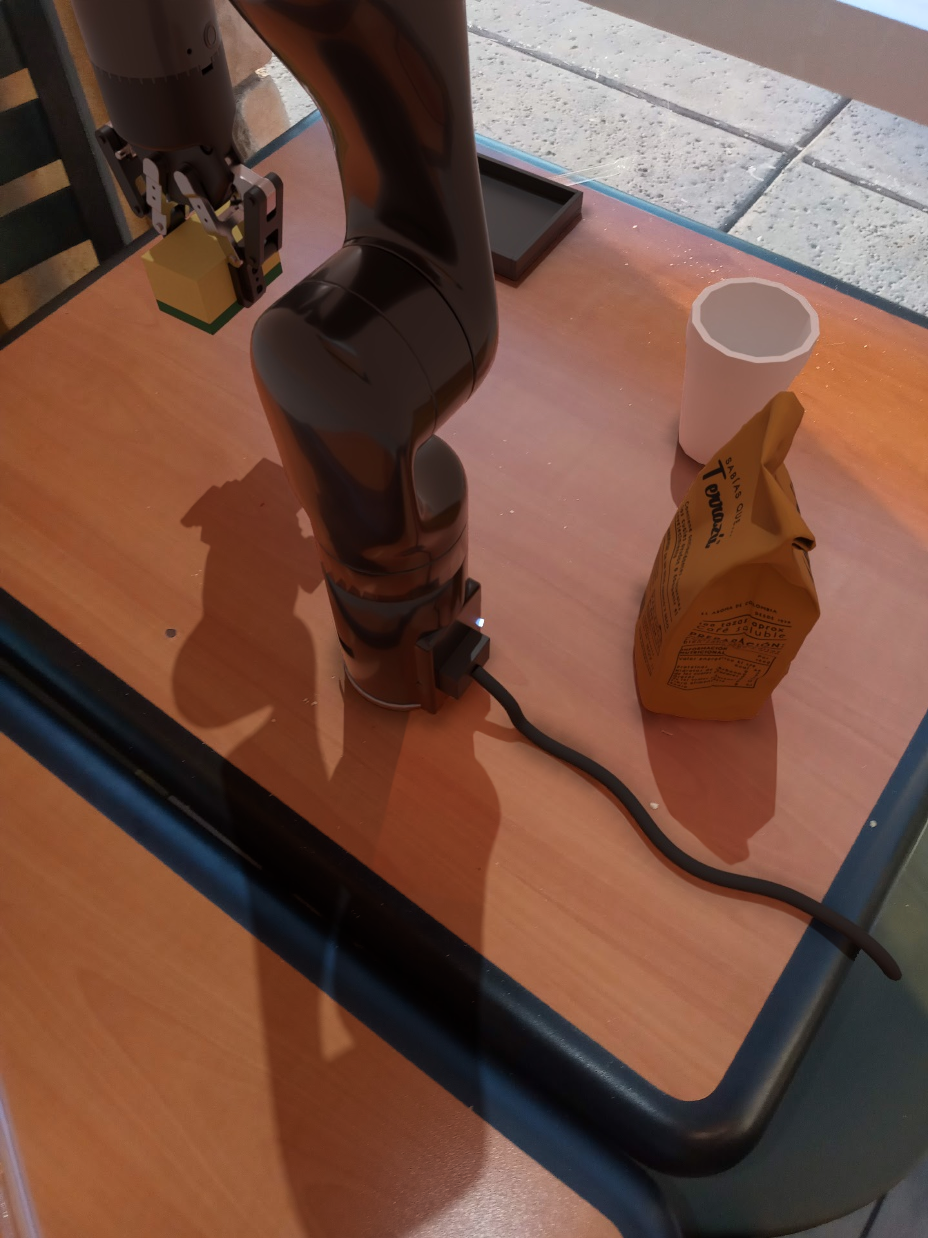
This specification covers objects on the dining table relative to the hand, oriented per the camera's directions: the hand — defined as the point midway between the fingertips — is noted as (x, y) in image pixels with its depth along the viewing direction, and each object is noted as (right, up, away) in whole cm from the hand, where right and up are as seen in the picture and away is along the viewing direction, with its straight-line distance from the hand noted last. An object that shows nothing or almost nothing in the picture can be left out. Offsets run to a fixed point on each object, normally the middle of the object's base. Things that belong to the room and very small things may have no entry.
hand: (221, 285), depth 66 cm
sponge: (0, 0, 0) cm, 0 cm away
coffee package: (+35, -27, +2) cm, 44 cm away
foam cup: (+39, -9, +13) cm, 42 cm away
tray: (+19, +18, +29) cm, 39 cm away
